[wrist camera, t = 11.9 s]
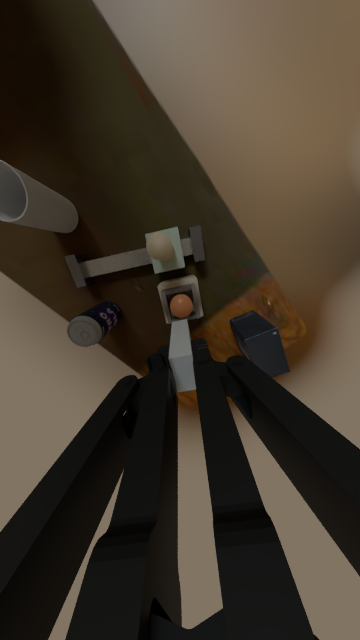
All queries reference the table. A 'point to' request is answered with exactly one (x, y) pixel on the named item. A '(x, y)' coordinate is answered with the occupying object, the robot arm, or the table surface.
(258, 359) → the small box
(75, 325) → the beverage can
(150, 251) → the carriage
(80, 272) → the rail
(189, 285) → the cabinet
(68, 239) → the table surface
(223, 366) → the robot arm
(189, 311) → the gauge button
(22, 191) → the mug
